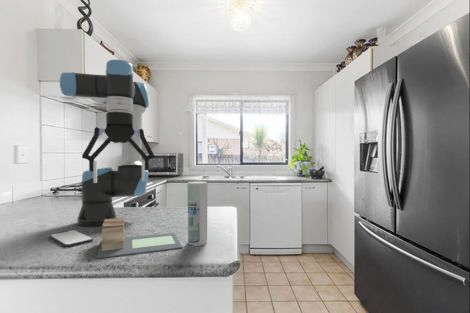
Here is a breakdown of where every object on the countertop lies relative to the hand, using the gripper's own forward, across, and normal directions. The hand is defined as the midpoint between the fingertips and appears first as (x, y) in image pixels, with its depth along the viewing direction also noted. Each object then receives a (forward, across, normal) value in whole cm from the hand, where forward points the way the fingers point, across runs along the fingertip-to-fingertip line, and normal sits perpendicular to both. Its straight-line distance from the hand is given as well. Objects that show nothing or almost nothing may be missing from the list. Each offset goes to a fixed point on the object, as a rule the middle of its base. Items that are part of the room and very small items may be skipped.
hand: (120, 181), depth 84 cm
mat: (+21, +6, +2) cm, 22 cm away
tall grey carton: (+21, +24, -3) cm, 32 cm away
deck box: (+20, -2, +4) cm, 21 cm away
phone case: (+22, -16, +16) cm, 31 cm away
